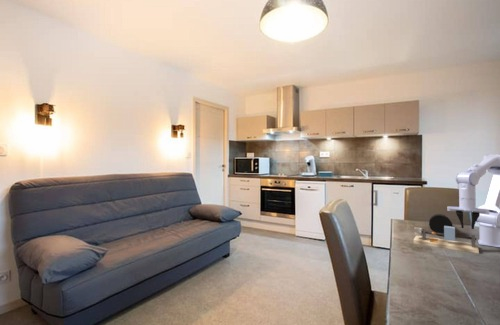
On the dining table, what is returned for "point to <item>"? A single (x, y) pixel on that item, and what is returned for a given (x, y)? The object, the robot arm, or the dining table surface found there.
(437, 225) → the black cylinder
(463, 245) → the cord board
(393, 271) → the dining table surface
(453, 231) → the light blue block
